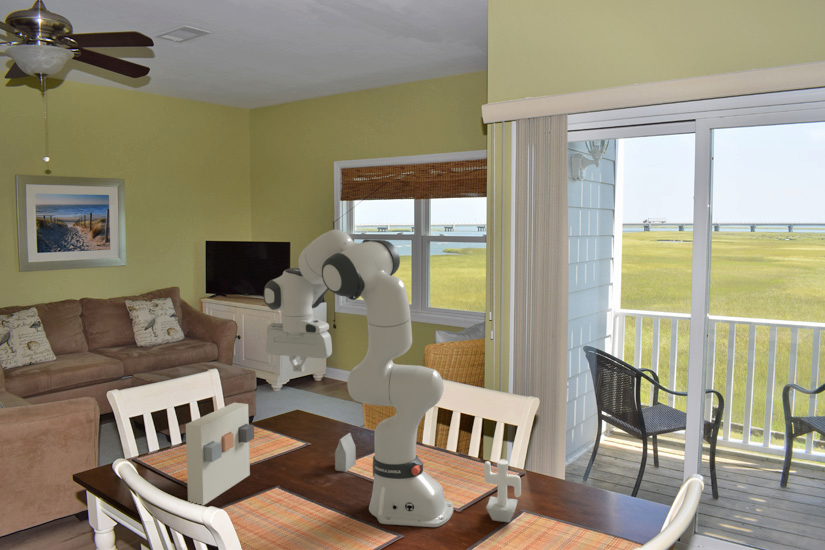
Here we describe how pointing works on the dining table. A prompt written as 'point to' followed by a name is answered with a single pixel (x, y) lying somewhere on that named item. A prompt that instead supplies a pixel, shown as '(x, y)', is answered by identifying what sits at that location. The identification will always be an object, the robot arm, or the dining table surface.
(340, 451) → the white carton box
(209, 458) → the slate grey button
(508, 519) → the figurine
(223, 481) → the control panel
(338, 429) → the dining table surface
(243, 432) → the charcoal button
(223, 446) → the terracotta button
